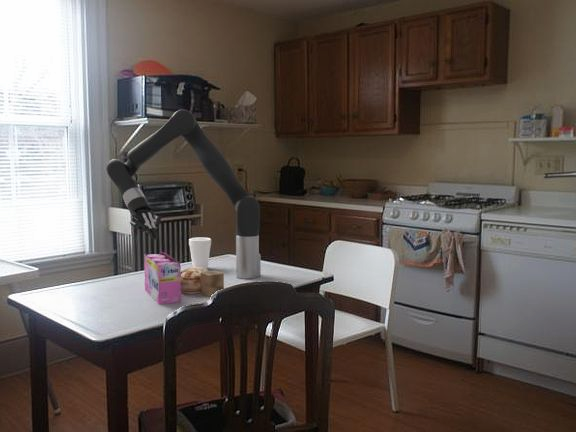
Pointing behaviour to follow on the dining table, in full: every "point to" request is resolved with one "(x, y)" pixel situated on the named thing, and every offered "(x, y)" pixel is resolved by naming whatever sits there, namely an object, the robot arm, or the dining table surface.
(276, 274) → the dining table surface
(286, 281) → the dining table surface
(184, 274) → the trinket box
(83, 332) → the dining table surface
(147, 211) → the robot arm
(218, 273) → the walnut block
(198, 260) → the foam cup
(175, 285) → the gum box
